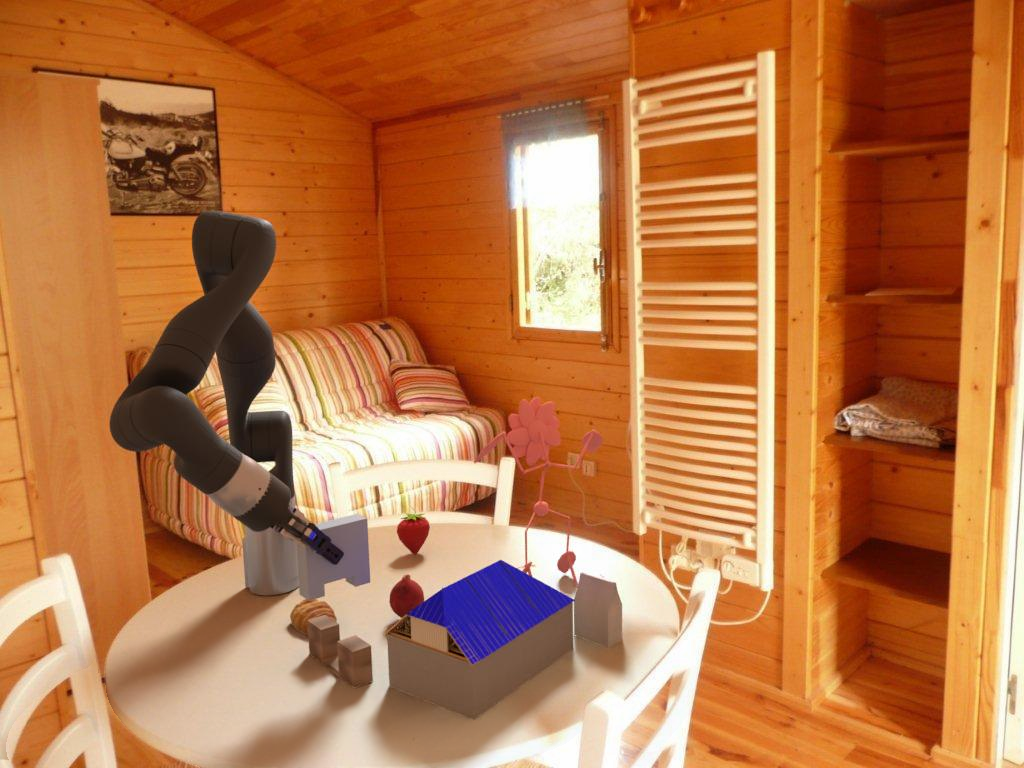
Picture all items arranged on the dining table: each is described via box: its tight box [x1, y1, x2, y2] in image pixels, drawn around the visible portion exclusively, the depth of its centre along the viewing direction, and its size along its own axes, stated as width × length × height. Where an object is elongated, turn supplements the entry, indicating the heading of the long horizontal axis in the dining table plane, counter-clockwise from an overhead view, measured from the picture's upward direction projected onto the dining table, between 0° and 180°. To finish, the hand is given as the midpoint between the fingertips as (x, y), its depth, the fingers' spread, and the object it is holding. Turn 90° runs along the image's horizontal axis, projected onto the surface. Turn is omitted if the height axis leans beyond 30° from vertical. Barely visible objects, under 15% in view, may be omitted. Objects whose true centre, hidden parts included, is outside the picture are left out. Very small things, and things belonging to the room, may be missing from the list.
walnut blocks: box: [307, 615, 374, 689], centre depth 125 cm, size 14×3×6 cm, turn 40°
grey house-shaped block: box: [573, 572, 623, 649], centre depth 133 cm, size 4×7×10 cm, turn 47°
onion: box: [389, 573, 425, 618], centre depth 141 cm, size 6×6×8 cm
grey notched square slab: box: [296, 513, 371, 601], centre depth 123 cm, size 10×3×10 cm, turn 130°
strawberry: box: [396, 507, 431, 555], centre depth 172 cm, size 6×8×10 cm
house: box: [383, 559, 575, 721], centre depth 124 cm, size 25×16×16 cm, turn 143°
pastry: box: [289, 598, 338, 636], centre depth 140 cm, size 9×7×4 cm
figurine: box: [473, 396, 605, 586], centre depth 155 cm, size 15×26×35 cm, turn 124°
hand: (333, 555), depth 123 cm, fingers closed on grey notched square slab, 3 cm apart
